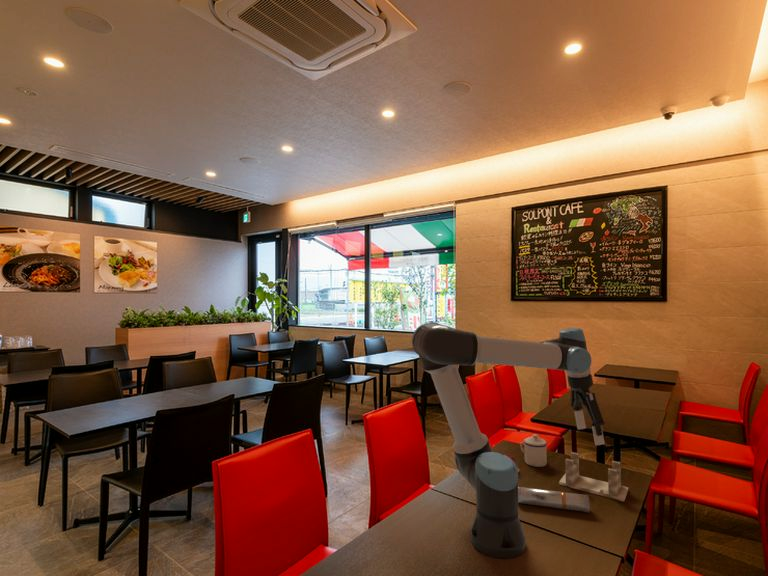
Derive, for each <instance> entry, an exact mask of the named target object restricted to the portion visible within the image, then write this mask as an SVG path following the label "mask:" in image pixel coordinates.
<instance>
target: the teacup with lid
mask: <svg viewBox="0 0 768 576" xmlns="http://www.w3.org/2000/svg"><path fill="white" fill-rule="evenodd" d="M523 440H524V441H521V442H520V450H521V451H522V453H524V462H525V463H526V465H528V466H531V467H537V468H543V467H546V466H547V461H548V460H547V457H548V456H547V455H548V454H547V445H548V443H547V440H546V439H544V438H541V437H539V436H538V434H532V436H529V437H527V438H525V439H523Z"/></svg>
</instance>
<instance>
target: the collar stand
mask: <svg viewBox="0 0 768 576" xmlns="http://www.w3.org/2000/svg"><path fill="white" fill-rule="evenodd" d="M579 455H580V454H579V453H577V452H574V451H570V458H566V459H564V460H565V462H564V464H565V466H564V467H565V468H564V469H565V470H564V471H565V473H564V474H563V475H562V477H561V478H560V480H559V481H558V485H559V486H560V485H561V486H564V487H568V488H571V489H575V490H579V491H582V492H587V493H590V494H594V495H597V496H602V497H605V498H610V499H613V500H616V501H621V502H625V500H626V497H627V494H628V492H629V487H628V486H625V485H622V477H621V476H622V474H621V471H622V470H621V461H615V460H612V461H611V468H608V469H607V480H608V481H604V480H599V479H595V478H591V477H587V476H583V475H580V459H579Z"/></svg>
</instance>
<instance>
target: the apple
mask: <svg viewBox="0 0 768 576" xmlns="http://www.w3.org/2000/svg"><path fill="white" fill-rule="evenodd" d="M504 455H506V456H508V457H509V458H511V459H512V460H513V461H514V463H515V464H516V459H515V457H514V456H513V455H512V454H507V453H506V454H504ZM519 472H520V468H518V467H517V473H519Z"/></svg>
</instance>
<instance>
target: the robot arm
mask: <svg viewBox="0 0 768 576" xmlns="http://www.w3.org/2000/svg"><path fill="white" fill-rule="evenodd" d="M558 334H559V337H557V338H553V339H548V340H544V341H539V342H538V341H537V342H536V341H528V340H517V339H507V338H497V337H487V336H481V335H480V336H478V335H477V333H476V332H475V331H473V332H472V331H465V330H461V329H458V328H457V329H456V328H454V327H452V326H448V325H446V324H441V323H438V322H431V321H430V322H426V323H422V324H421V325H418V327H417V328H416V329H415V330H414V331H413V334H412V336H411V337H412V338H411V345H412V349H413V350H414V352H415V353H416V355H418V357H419V360H420V362H421V365H422V368H423V371H424V372H426V373H428V374H430V376H431V380H432V381H433V384H434V388H435V390H436V392H437V394H438V398H439V401H440V404H441V407H442V409H443V411H444V414H445V417H446V419H447V422H448V426H449V428H450V431H451V433H452V435H453V439H454V443H453V445H452V450H453V452H454V463H455V465H456V468H457V469H458V471H459V473H460V475H461V476H462V477H464V478H465V479H466V481H467V482H468V483H469V485H470V486H471V487H472V488H473V489H474V490H475V495H476V497H475V498H476V504H475V506H476V511H475V512H476V513H475V516H474V519H473V521H472V524H471V528H470V542H471V544H472V545H473V547H474V548H476V550H478V551H479V552H480V553H482V554H484V555H487V556H489V557H493V558H497V559H511V558H517V557H519V556H520V555H522V554H523V553H524V552H525V550H526V547H527V545H526V536H525V532H524V529H523V527H522V524H521V520H520V518H519V503H518V487H519V474H518V473H519V472H518V473H517V468H518V467H517V464H516V463H514V461H513V460H512V459H511V458H509V457H508V456H506V455H505V454H502V453H500V452H496V451H495V452H494V451H493V449H492V445H491V444H490V441H489V439H488V436H487V435H486V434H484V433H482V432H481V430H480V428H479V424H478V421H477V418H476V416H475V413H474V411H473V409H472V406H471V402H470V400H469V397H468V394H467V392H466V388H465V386H464V384H463V381H462V378H461V375H460V372H459V370H458V369H459V368H458V367H457V366H471V367H472V366H474V365H475V364H476V363H478V364H479V363H480V364H490V365H501V366H502V365H503V366H511V367H525V368H537V369H547V370H548V369H549V370H556V371H557V370H558V371H565V373H566V375H567V376H566V377H567V382H568V383H567V384H568V387H569V388H570V402H569V403H570V406H571V407H572V410H573V412H574V418H575V424H576V428H577V430H585V429H587V425H586V421H585V415H584V410H583V409H584V407H585V410H586V411H587V414H588V417H589V419H590V421H591V424H590V426H591V429H592V434H593V440H594V445H595V446H601V445H606V442H605V439H604V438H605V437H604V433H603V427H602V426H605V424H606V423H605V420H604V418H603V416H602V413H601V410H600V407H599V404H598V401H597V398H596V393H595V392H591V391H590V388H591V387H593V386H594V380H593V376H592V373H591V372H592V370H591V365H592V356H591V354H590V352H589V351H588V348H587V340H586V338H585V334H584V331H583V329H581V328H579V327H570V328H564V329H561V330H559V332H558Z"/></svg>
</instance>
